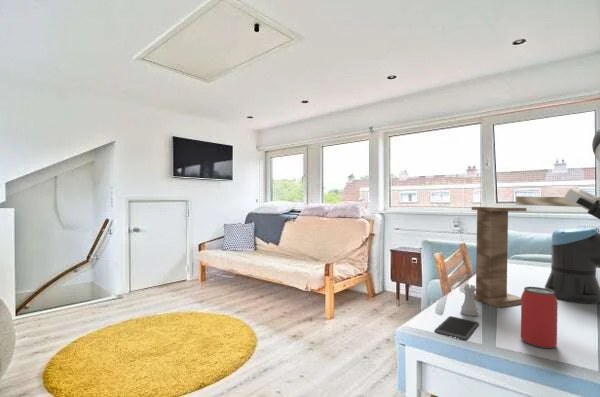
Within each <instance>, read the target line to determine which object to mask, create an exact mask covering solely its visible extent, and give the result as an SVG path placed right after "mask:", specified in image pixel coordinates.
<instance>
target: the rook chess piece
mask: <svg viewBox="0 0 600 397" xmlns="http://www.w3.org/2000/svg"><path fill="white" fill-rule="evenodd" d="M463 289H464V301H463V303H462V305H461V307H460V308H461V310H460V312H461V314H463V315H465V316H468V317H476V316H478V315H479V313H478V311H479V308H478V307H477V305H476V300H475V299H474V296H475V294H474V293H476V285H473V284H469V283H467V284H464V286H463Z"/></svg>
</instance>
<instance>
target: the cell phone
mask: <svg viewBox="0 0 600 397" xmlns="http://www.w3.org/2000/svg"><path fill="white" fill-rule="evenodd" d="M479 325H480V322H478V321H474V320H471V319H465V318H461V317H458V316H452V315H451V316H450V315H449V316H448V317H447V318H445V320H444V321H442V323H440V324H439V325H438V326H437V327H436V328H435V329H434V333H436V334H439V335H441V336H442V335H443V336H445V335H446V337H449V336H452V337H451V338H453V337H456V338H455V339H457V338H459V339H458V340H460V339H462V340H461V341H465V340H466V341H468V340H469V338H471V336H472V335H473V333H475V331H476V330H477V328H478V327H479Z"/></svg>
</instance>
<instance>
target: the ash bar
mask: <svg viewBox="0 0 600 397" xmlns="http://www.w3.org/2000/svg"><path fill="white" fill-rule="evenodd" d="M564 197H565V196H529V195H528V196H527V195H526V196H522V195H521V196H520V195H519V196H518V195H517V196H515V205H516V206H520V205H521V206H543V207H544V206H545V207H567V208H568V207H572V208H573V207H574V208H581V207H580V206H578V205H576V204H575V203H573V202H571V201H569V200H567V199H565V198H564ZM589 198H591V199H593V200H595V201H596V200H600V196H596V197H589ZM599 204H600V202H599Z"/></svg>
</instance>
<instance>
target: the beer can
mask: <svg viewBox="0 0 600 397" xmlns="http://www.w3.org/2000/svg"><path fill="white" fill-rule="evenodd" d="M554 294H555V292H554V291H552V290H549V289H545V287H538V286H525V287H524V289H523V291H522V294H521V296H520V297H521V304H520V305H521V306H520V310H521V311H520V338H521V340H522V341H523V342H525V343H527V345H530V346H533V347H536V348H539V349H540V348H542V349H552V348H555V347H557V346H558V345H557V344H558V303H559V302H558V301H557V300H558V298H556V297H555V295H554Z"/></svg>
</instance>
